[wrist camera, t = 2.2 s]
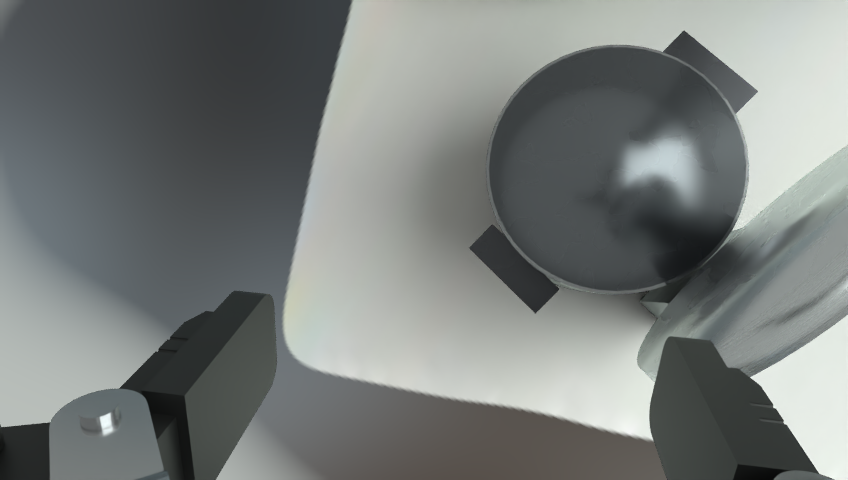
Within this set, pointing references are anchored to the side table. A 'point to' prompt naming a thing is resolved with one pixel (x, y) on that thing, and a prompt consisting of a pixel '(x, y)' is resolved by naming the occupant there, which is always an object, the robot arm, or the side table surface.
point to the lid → (768, 279)
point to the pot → (616, 173)
